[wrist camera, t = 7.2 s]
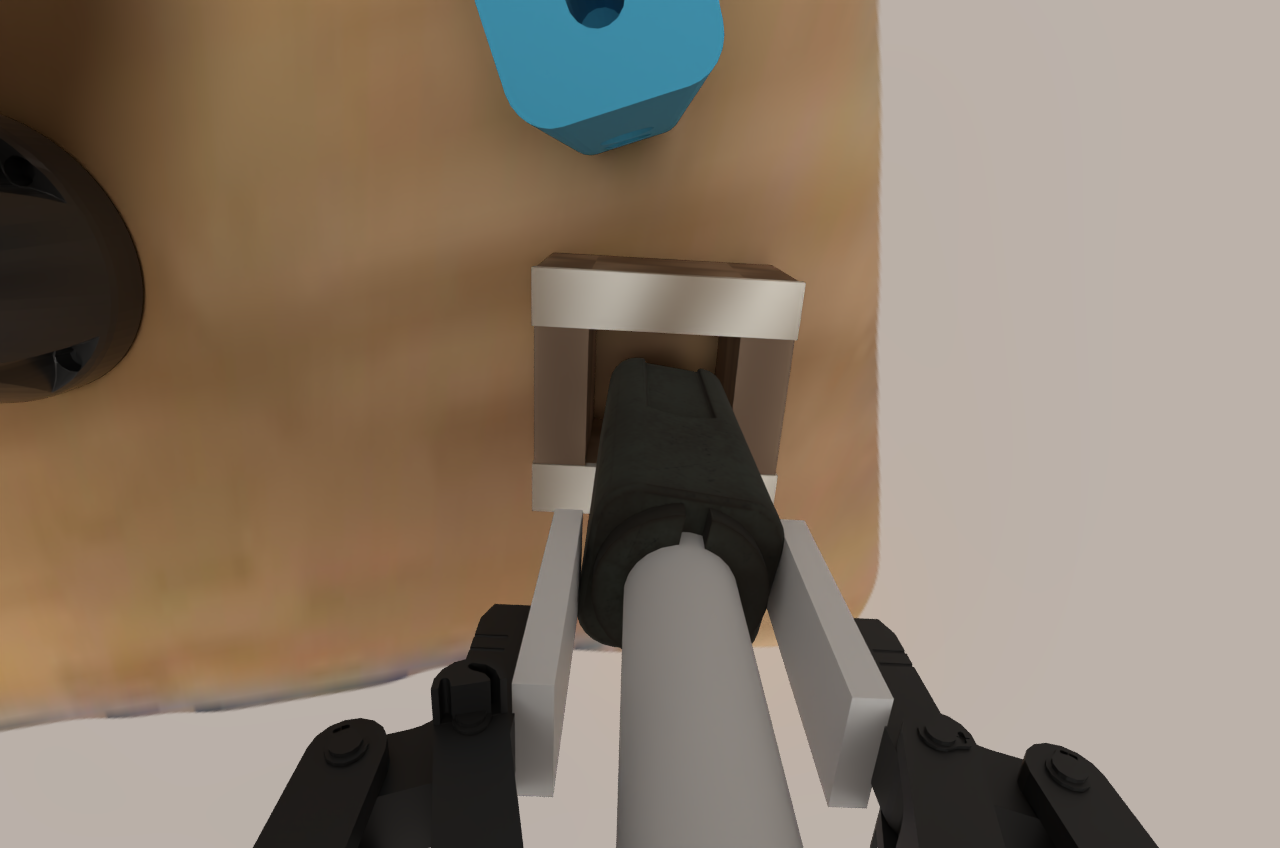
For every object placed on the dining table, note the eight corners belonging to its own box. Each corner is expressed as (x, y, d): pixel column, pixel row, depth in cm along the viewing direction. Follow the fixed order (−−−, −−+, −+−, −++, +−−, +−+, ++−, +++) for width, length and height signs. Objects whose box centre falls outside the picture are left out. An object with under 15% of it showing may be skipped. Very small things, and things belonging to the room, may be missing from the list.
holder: (549, 455, 39) (532, 510, 32) (551, 251, 35) (531, 267, 28) (748, 465, 39) (771, 522, 33) (773, 264, 35) (805, 282, 28)
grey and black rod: (728, 373, 28) (1182, 1290, 5) (703, 476, 30) (946, 1514, 7) (614, 352, 28) (506, 1235, 4) (596, 458, 30) (448, 1489, 6)
